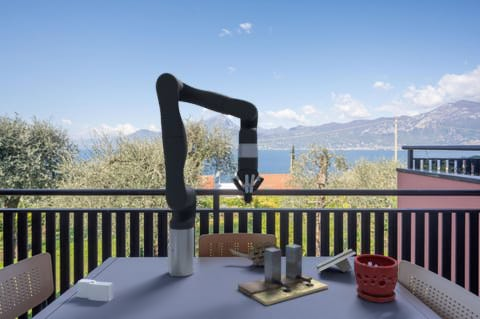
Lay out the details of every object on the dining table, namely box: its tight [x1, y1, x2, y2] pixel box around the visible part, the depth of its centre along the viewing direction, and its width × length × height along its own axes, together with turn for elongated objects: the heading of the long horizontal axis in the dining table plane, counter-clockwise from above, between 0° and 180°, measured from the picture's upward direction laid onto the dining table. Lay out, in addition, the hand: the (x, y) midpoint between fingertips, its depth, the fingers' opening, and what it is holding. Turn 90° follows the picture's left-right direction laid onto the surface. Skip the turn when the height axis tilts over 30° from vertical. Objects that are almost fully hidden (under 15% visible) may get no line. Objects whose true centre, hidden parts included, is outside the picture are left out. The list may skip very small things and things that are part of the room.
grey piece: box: [316, 248, 357, 273], centre depth 136 cm, size 16×9×15 cm
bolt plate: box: [252, 278, 329, 307], centre depth 114 cm, size 26×7×1 cm, turn 123°
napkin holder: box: [77, 278, 114, 302], centre depth 110 cm, size 15×11×6 cm
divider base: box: [237, 243, 313, 298], centre depth 119 cm, size 26×12×12 cm, turn 123°
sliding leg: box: [264, 248, 290, 289], centre depth 117 cm, size 4×10×11 cm, turn 33°
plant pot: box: [353, 253, 399, 303], centre depth 111 cm, size 13×13×12 cm
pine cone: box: [229, 240, 282, 267], centre depth 144 cm, size 22×10×10 cm, turn 80°
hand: (247, 202), depth 131 cm, fingers closed
